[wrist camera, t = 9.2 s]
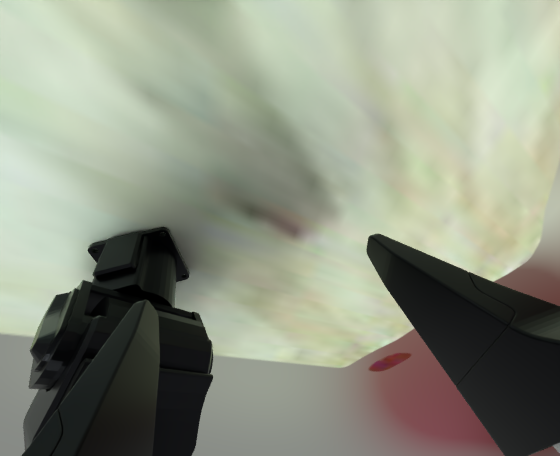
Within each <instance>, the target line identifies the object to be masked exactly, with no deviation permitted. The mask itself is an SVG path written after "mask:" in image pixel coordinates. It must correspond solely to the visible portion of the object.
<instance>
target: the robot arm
mask: <svg viewBox="0 0 560 456" xmlns="http://www.w3.org/2000/svg"><path fill="white" fill-rule="evenodd" d="M161 232H164V233H166V234H161ZM94 249H98V250H94ZM88 252H89V254H90V255H91V256H92V257H93V259H94V260H95V261H96V262H97V265H96V268H95V270H94V272H93V276H94V279H93V282H88V281H85V280H83V281H82V282H81V283H80V285H79V286H78V287H77V289H76V288H75V289H74V290H73V291H72V292H71V291H70V292H69V293H65V294H60V295H56V296H55V298H54V299H53V301H52V302H51V304H50V306H49V308H48V310H47V312H46V313H45V315H44V317H43V319H42V321H41V323H40V325H39V327H38V330H37V332H36V335H35V338H34V341H33V343H32V346H31V349H30V352H31V354H32V356H33V364H32V370H31V375H30V381H29V388H30V389H39V390H38V392H37V394H36V396H35V398H34V400H33V402H32V404H31V406H30V408H29V410H28V412H27V414H26V416H25V419H24V423H23V429H24V442H25V452H24V453H23V454H22V456H191V455H192V453H193V451H194V449H195V446H196V440H197V433H198V426H199V421H200V415H201V410H202V407H203V403H204V400H205V397H206V394H207V391H208V389H209V387H210V384H211V382H212V379H213V375H212V374H210V373H211V369H212V362H213V350H212V342H211V340H209V338H208V336H207V333H206V330H205V327H204V325H203V323H202V320H201V318H200V315H199V313H196V312H192V313H191V312H188V311H184V310H181V309H177V308H174V303H175V288H176V282H178V281H182V280H186V279H188V278H189V271H188V269H187V267H186V265H185V263H184V261H183V258H182V256H181V254H180V252H179V250H178V248H177V246H176V244H175V242H174V240H173V238H172V236H171V234H170V232H169V230H168V229H167V228H164V227H161V228H157V229H152V230H148V231H144V232H136V233H131V234H127V235H123V236H119V237H114V238H110V239H108V240H106V241H102V242H98V243H93V244H91V245H90V246H89V248H88ZM367 255H368V257H369V258H370V260H371V262H372V264H373V266H374V267H375V269H376V271H377V273H378V275H379V276H380V278H381V280H382V282H383V283H384V285H385V287H386V288H387V289H388V291H389V292H390V294H391V295H392V297H393V298H394V299H395V301H396V302H397V304H398V305H399V306H400V308H401V309H402V311H403V312H404V314H405V315H406V316H407V318H408V319H409V321H410V322H411V323H412V325H413V326H414V328H415V329H416V331H417V332H418V333H419V335H420V336H421V338H422V339H423V340H424V342H425V343H426V345H427V346H428V348H429V349H430V350H431V352H432V353H433V355H434V356H435V357H436V359H437V360H438V362H439V363H440V365H441V366H442V367H443V369H444V370H445V371H446V373H447V374H448V375H449V377H450V379H451V380H452V381H453V383H454V384H455V385H456V387H457V389H458V390H459V392H460V393H461V394H462V396H463V397H464V399H465V400H466V402H467V403H468V404H469V406H470V407H471V409H472V410H473V411H474V413H475V414H476V416H477V417H478V419H479V420H480V421H481V423H482V424H483V426H484V427H485V428H486V430H487V431H488V433H489V434H490V435H491V437H492V438H493V440H494V441H495V443H496V444H497V445H498V447H499V448H500V450H501V451H502V452H503V454H504V455H505V456H529V455H531V454H534V453H536V452H538V451H541V450H544V449H546V448H548V447H551V446H553V447H554V448H555V449H556V450H557V451H558V452H559V453H560V306H557V305H555V304H552V303H549V302H546V301H543V300H540V299H538V298H535V297H532V296H530V295H527V294H524V293H521V292H518V291H516V290H512V289H510V288H508V287H505V286H502V285H500V284H497V283H494V282H492V281H490V280H487V279H485V278H482V277H480V276H477V275H475V274H473V273H470V272H467V271H466V270H463V269H461V268H459V267H456V266H454V265H452V264H449V263H447V262H444V261H442V260H440V259H437V258H435V257H433V256H430V255H428V254H426V253H423V252H421V251H419V250H416V249H414V248H412V247H409V246H407V245H405V244H402V243H400V242H398V241H395V240H393V239H391V238H388V237H386V236H384V235H381V234H374V235H371V236H369V238H368V243H367ZM184 274H185V275H184Z"/></svg>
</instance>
